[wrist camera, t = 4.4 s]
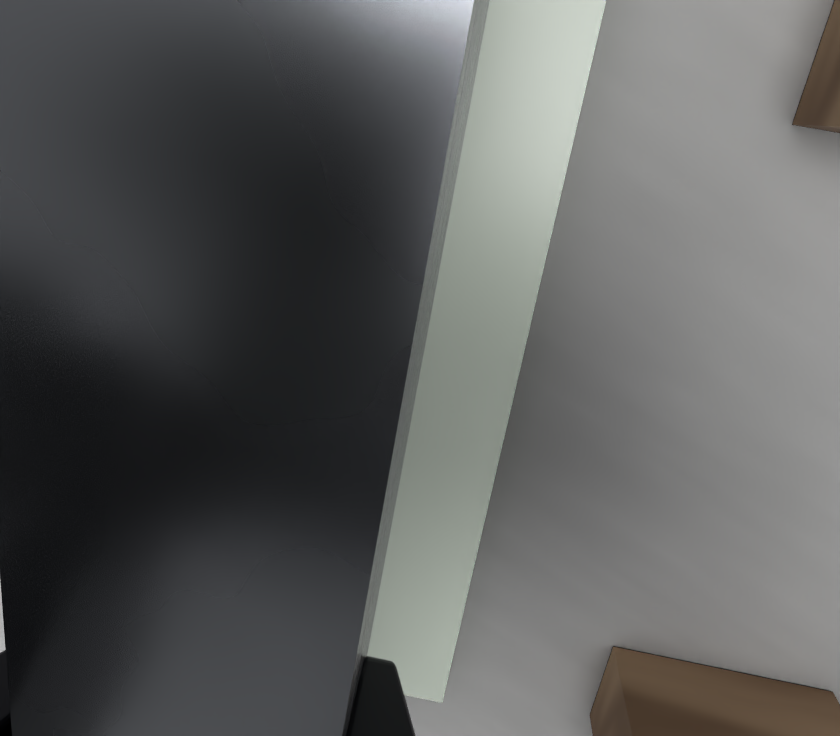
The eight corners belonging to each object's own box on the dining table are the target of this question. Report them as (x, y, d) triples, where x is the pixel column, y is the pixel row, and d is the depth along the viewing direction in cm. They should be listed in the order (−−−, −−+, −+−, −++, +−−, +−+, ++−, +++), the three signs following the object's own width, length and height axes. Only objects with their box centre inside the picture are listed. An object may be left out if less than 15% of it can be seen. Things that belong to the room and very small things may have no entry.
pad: (444, 684, 23) (442, 702, 22) (188, 630, 24) (178, 647, 23) (627, -108, 15) (634, -120, 14) (226, -173, 15) (212, -188, 14)
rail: (291, 1063, 13) (237, 1316, 11) (142, 1029, 13) (51, 1271, 11) (578, -474, 5) (680, -1149, 2) (196, -538, 5) (-137, -1260, 2)
